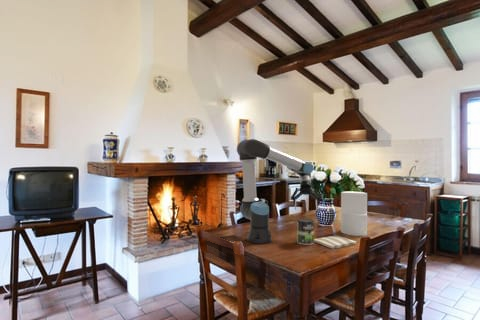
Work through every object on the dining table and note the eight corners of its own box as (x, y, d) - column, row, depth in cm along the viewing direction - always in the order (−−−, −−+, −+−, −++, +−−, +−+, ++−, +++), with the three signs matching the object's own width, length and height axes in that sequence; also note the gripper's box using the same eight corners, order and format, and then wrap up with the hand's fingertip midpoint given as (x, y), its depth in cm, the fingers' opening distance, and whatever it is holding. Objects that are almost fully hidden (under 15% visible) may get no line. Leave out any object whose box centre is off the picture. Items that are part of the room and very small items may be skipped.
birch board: (332, 248, 170) (332, 246, 170) (313, 241, 184) (313, 239, 184) (356, 244, 180) (356, 241, 180) (336, 237, 194) (336, 235, 194)
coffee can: (316, 244, 179) (317, 221, 178) (301, 245, 176) (301, 222, 176) (308, 239, 189) (308, 217, 188) (294, 240, 186) (294, 218, 186)
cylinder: (339, 228, 218) (340, 191, 217) (364, 230, 213) (365, 191, 213) (341, 234, 201) (342, 194, 201) (368, 236, 197) (369, 195, 196)
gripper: (323, 187, 207) (325, 212, 193) (288, 186, 212) (287, 211, 198) (324, 180, 202) (326, 205, 188) (287, 179, 207) (286, 204, 193)
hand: (306, 208), depth 193 cm, fingers open, 13 cm apart
